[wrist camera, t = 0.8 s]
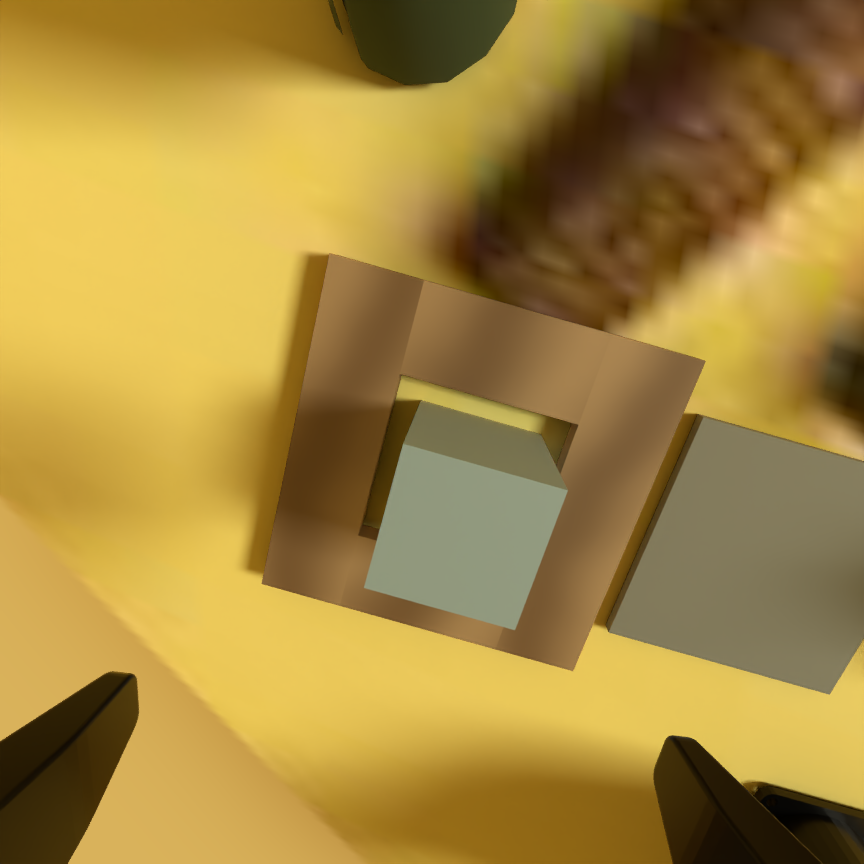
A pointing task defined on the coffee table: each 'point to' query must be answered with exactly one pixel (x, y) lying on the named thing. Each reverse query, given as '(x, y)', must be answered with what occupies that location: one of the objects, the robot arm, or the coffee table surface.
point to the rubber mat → (753, 558)
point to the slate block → (467, 516)
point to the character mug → (424, 35)
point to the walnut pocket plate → (492, 379)
